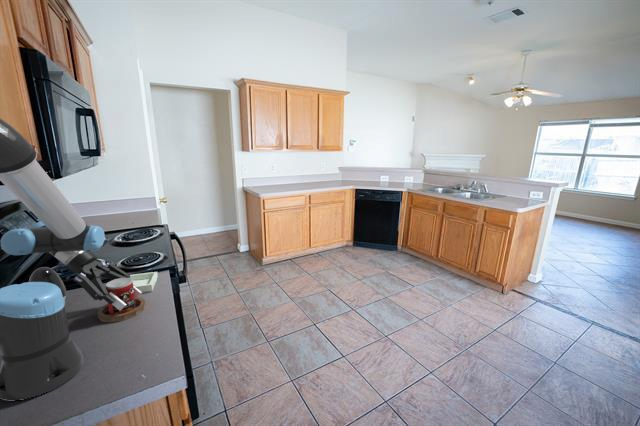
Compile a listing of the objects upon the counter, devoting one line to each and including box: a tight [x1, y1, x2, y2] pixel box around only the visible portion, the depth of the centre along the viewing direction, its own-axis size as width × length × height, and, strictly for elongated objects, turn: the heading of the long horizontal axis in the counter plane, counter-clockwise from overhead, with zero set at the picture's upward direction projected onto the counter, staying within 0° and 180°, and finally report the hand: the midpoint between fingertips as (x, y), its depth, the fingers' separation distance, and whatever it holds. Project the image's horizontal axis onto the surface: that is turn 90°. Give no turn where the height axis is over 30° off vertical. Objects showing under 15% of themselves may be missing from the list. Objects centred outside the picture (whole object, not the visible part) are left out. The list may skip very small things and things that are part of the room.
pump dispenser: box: [28, 266, 67, 301], centre depth 98 cm, size 10×10×15 cm
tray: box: [129, 271, 159, 294], centre depth 115 cm, size 14×14×3 cm
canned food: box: [105, 278, 136, 315], centre depth 96 cm, size 8×8×11 cm
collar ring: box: [96, 296, 147, 323], centre depth 97 cm, size 13×13×2 cm
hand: (131, 301), depth 97 cm, fingers closed on canned food, 8 cm apart
